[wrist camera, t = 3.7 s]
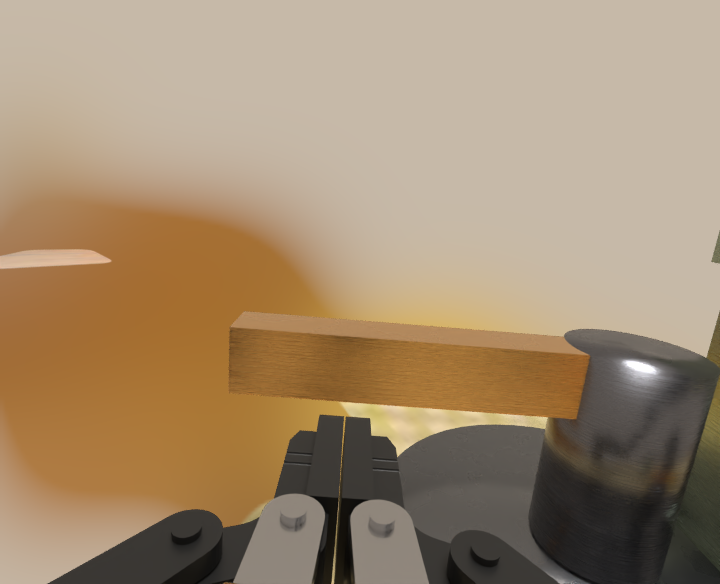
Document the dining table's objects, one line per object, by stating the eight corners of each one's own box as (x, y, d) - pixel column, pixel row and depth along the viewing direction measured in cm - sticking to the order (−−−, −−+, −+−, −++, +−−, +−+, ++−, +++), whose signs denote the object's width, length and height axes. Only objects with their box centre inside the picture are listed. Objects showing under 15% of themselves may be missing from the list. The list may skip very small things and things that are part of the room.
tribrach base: (651, 459, 33) (721, 196, 29) (1177, 941, 12) (1765, 212, 7) (366, 438, 33) (392, 167, 28) (381, 902, 11) (499, 96, 7)
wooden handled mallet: (615, 499, 25) (656, 334, 23) (693, 594, 19) (760, 384, 17) (248, 473, 24) (253, 301, 22) (213, 562, 19) (215, 341, 16)
